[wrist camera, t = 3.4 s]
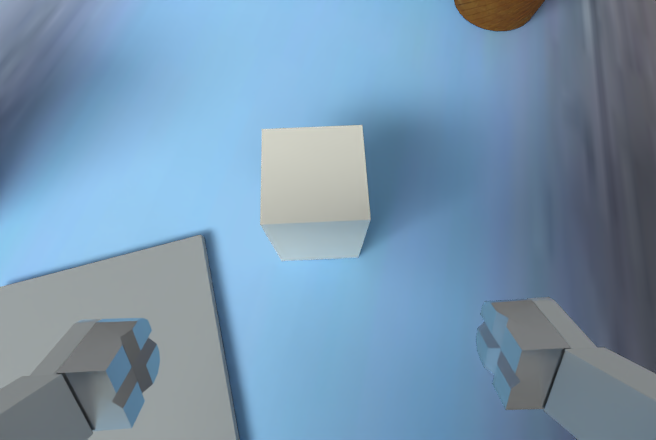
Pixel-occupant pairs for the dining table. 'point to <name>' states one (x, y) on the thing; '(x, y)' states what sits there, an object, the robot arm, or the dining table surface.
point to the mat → (167, 332)
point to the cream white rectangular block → (314, 191)
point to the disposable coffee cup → (498, 12)
